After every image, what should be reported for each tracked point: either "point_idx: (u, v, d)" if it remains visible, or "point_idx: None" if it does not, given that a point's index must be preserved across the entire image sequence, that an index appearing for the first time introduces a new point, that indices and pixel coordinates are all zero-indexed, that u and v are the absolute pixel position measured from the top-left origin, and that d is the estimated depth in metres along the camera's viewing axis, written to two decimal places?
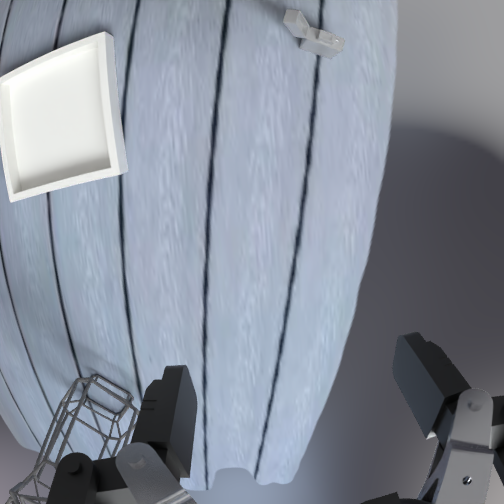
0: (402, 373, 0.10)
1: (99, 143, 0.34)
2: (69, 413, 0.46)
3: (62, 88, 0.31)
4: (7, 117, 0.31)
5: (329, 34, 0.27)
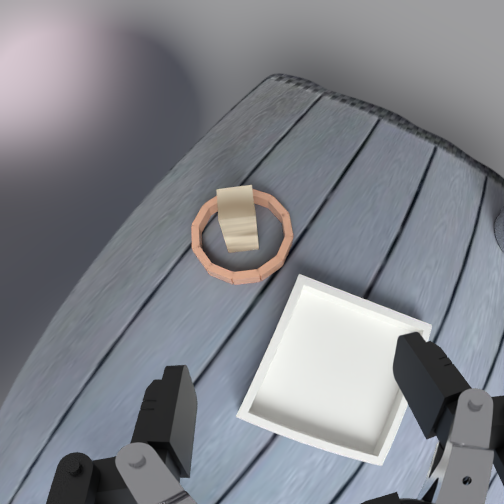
0: (402, 373, 0.10)
1: (368, 425, 0.32)
2: None
3: (361, 347, 0.36)
4: (287, 326, 0.36)
5: None
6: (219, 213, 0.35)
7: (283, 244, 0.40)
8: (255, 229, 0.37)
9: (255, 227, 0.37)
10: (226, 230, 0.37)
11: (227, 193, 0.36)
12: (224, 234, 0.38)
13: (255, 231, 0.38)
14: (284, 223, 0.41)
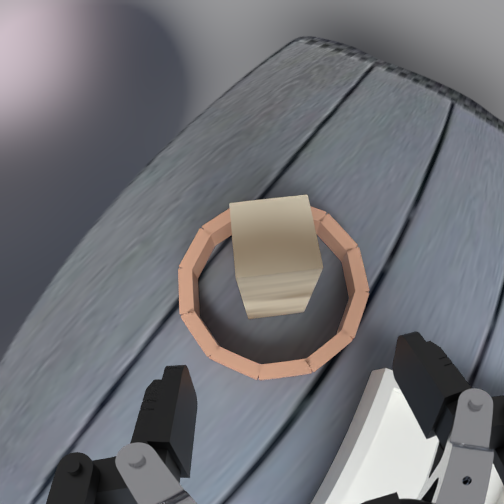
0: (402, 373, 0.10)
1: None
2: None
3: None
4: None
5: None
6: (237, 261, 0.15)
7: (353, 307, 0.21)
8: (311, 289, 0.17)
9: (311, 287, 0.17)
10: (250, 292, 0.17)
11: (254, 213, 0.16)
12: (245, 298, 0.18)
13: (309, 291, 0.18)
14: (352, 266, 0.22)
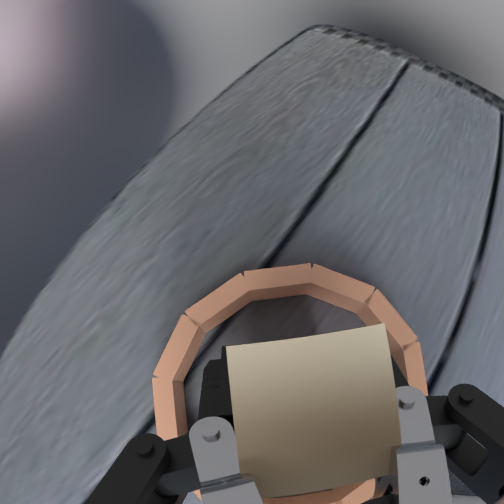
0: None
1: None
2: None
3: None
4: None
5: None
6: (246, 472, 0.06)
7: None
8: None
9: None
10: None
11: (279, 371, 0.07)
12: None
13: None
14: (409, 371, 0.13)
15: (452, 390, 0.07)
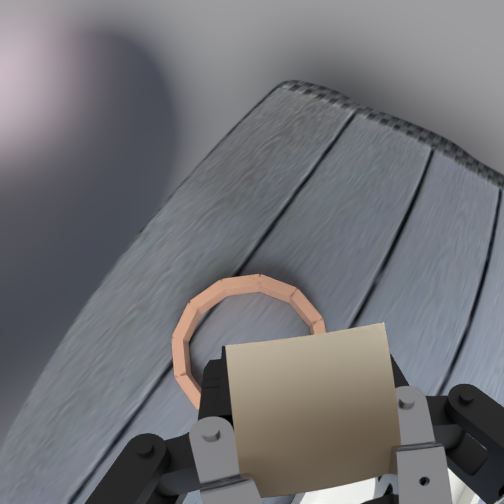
0: None
1: None
2: None
3: None
4: None
5: None
6: (245, 471, 0.06)
7: None
8: None
9: None
10: None
11: (278, 370, 0.07)
12: None
13: None
14: None
15: (452, 390, 0.07)
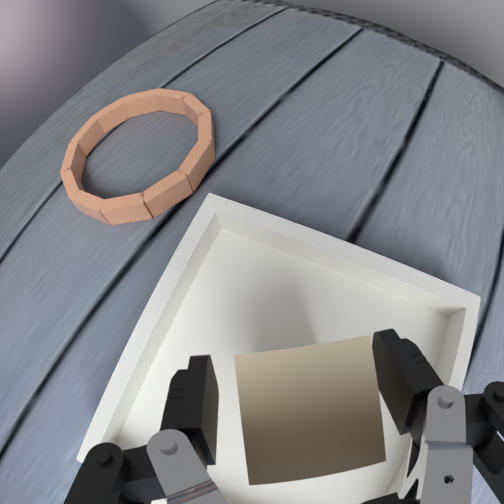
0: (378, 369, 0.11)
1: (350, 500, 0.13)
2: None
3: None
4: (180, 294, 0.18)
5: None
6: (251, 461, 0.07)
7: (192, 152, 0.22)
8: None
9: None
10: None
11: (279, 375, 0.08)
12: None
13: None
14: (200, 124, 0.23)
15: (488, 386, 0.07)
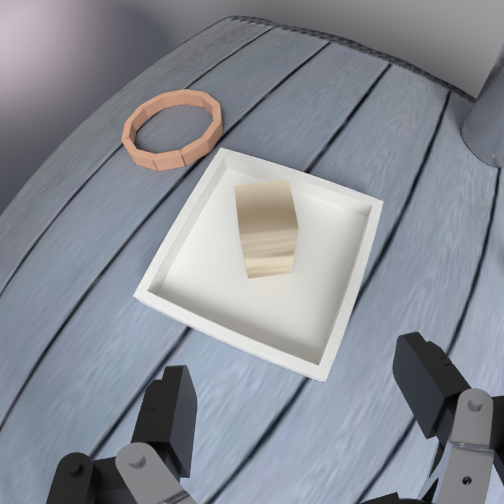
0: (402, 373, 0.10)
1: (307, 325, 0.28)
2: None
3: None
4: (204, 199, 0.32)
5: None
6: (240, 224, 0.22)
7: (210, 128, 0.36)
8: (293, 248, 0.24)
9: (293, 245, 0.24)
10: (249, 249, 0.24)
11: (251, 192, 0.23)
12: (245, 255, 0.25)
13: (292, 250, 0.25)
14: (214, 112, 0.37)
15: None
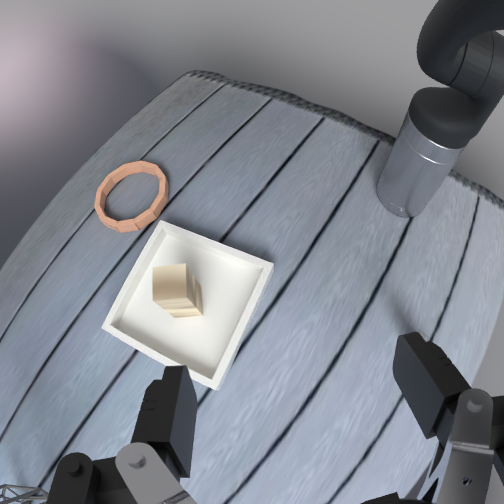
0: (402, 373, 0.10)
1: (211, 351, 0.40)
2: (4, 497, 0.26)
3: (209, 281, 0.44)
4: (148, 260, 0.45)
5: None
6: (153, 293, 0.35)
7: (156, 200, 0.49)
8: (192, 305, 0.37)
9: (191, 304, 0.37)
10: (163, 305, 0.37)
11: (162, 272, 0.36)
12: (163, 308, 0.38)
13: (192, 306, 0.38)
14: (160, 184, 0.50)
15: None
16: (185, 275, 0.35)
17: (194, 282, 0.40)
